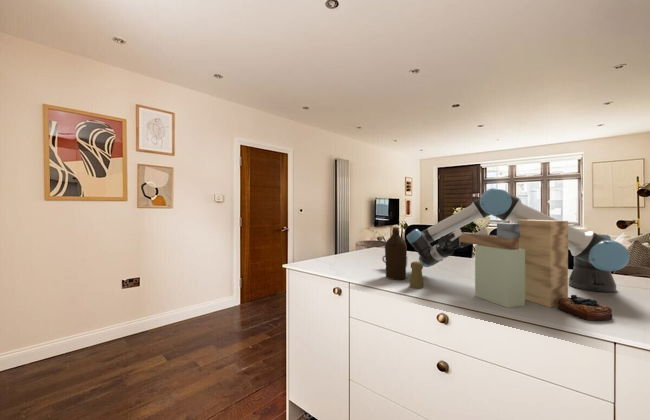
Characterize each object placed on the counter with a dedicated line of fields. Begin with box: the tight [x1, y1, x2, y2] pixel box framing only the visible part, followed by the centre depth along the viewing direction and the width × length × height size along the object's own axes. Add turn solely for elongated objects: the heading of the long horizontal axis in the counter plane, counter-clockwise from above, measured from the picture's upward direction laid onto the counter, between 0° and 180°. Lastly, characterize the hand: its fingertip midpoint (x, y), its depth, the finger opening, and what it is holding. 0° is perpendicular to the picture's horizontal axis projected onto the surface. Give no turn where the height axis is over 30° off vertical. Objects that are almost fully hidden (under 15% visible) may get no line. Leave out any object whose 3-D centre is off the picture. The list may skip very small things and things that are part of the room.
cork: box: [409, 260, 425, 290], centre depth 124 cm, size 6×6×11 cm
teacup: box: [381, 254, 409, 268], centre depth 159 cm, size 14×11×8 cm
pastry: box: [557, 294, 614, 322], centre depth 92 cm, size 11×12×6 cm
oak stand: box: [516, 219, 569, 308], centre depth 105 cm, size 9×12×30 cm
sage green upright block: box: [474, 244, 526, 309], centre depth 105 cm, size 8×14×20 cm, turn 18°
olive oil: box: [384, 226, 408, 281], centre depth 140 cm, size 11×11×25 cm
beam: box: [458, 222, 520, 250], centre depth 111 cm, size 5×24×9 cm, turn 17°
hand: (473, 230), depth 117 cm, fingers open, 13 cm apart
